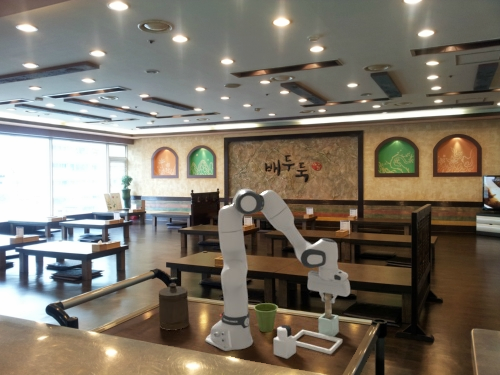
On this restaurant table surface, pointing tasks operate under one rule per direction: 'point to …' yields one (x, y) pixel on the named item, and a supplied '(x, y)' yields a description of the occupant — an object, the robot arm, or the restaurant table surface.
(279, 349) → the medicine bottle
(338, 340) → the melamine tray
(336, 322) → the celadon cup
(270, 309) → the plant pot
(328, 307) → the beech dowel
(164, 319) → the wooden container
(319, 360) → the restaurant table surface
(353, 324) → the restaurant table surface
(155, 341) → the restaurant table surface
